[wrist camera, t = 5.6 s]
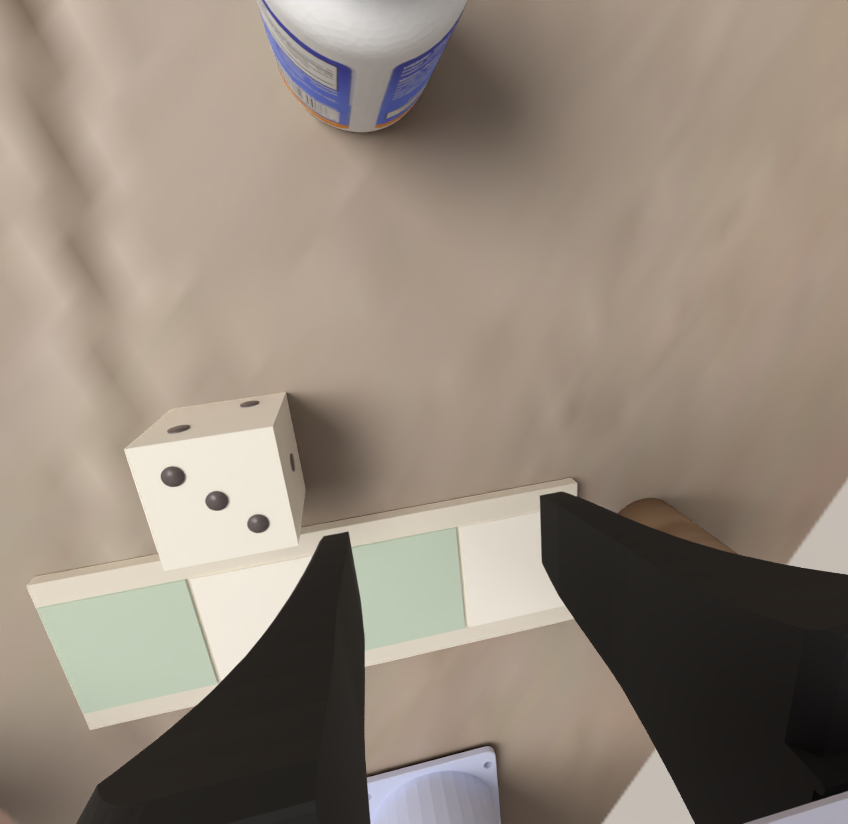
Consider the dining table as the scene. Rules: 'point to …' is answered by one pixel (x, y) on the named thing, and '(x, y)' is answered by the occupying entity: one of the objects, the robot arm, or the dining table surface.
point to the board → (272, 586)
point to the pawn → (670, 522)
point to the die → (220, 480)
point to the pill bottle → (358, 54)
